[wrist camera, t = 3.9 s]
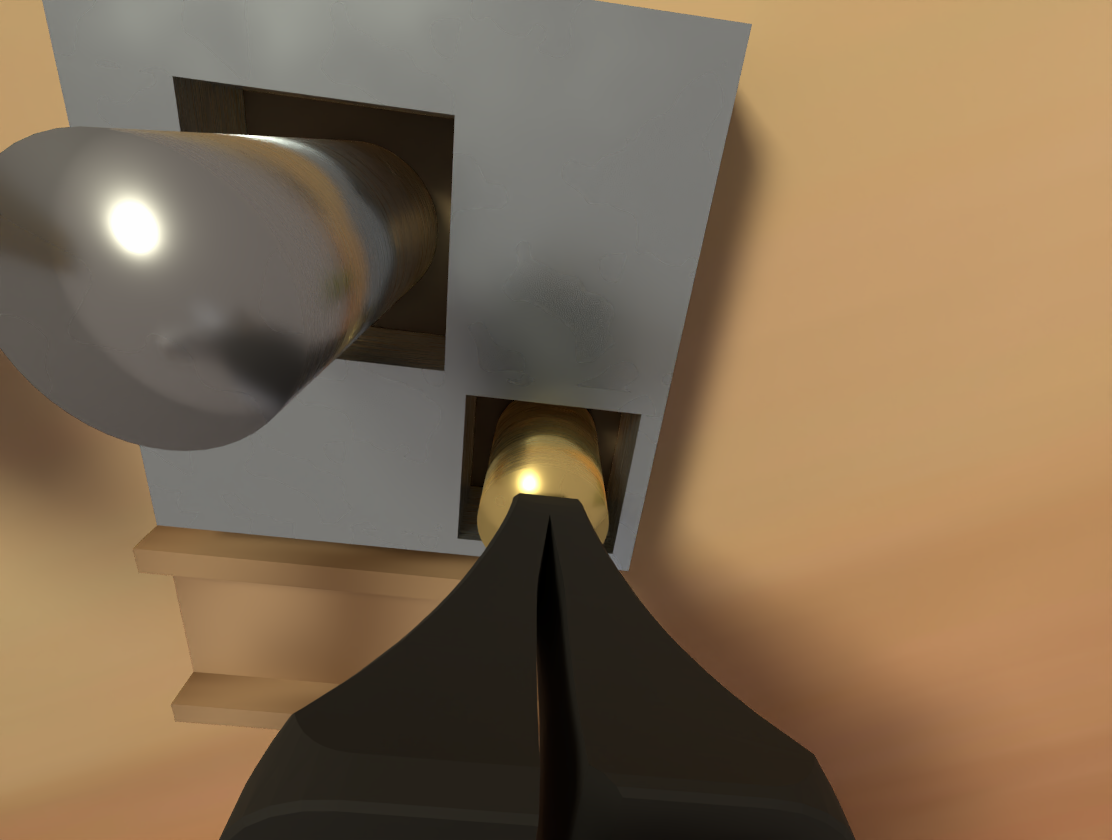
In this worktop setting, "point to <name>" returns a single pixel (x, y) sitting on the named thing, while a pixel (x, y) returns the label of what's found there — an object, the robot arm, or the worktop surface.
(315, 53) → the socket block
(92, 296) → the silver metal cylinder
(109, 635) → the worktop surface
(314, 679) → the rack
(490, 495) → the pin
